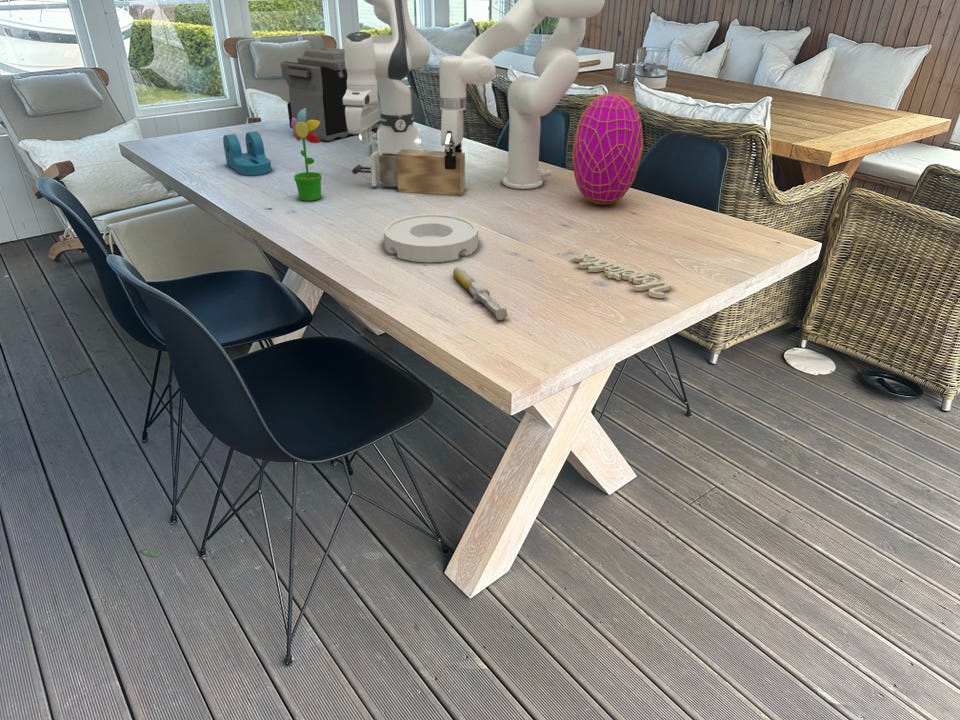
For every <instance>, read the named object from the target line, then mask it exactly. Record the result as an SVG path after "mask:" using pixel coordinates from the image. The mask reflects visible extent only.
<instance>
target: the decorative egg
mask: <svg viewBox="0 0 960 720" xmlns="http://www.w3.org/2000/svg"><path fill="white" fill-rule="evenodd" d="M643 146H644V136H643V124H642V120H641V116H640V113H639V111H638V109H637V107H636V105H635V103H634V102H633V101H632V100H631V99H630V98H629V97H627V96H625V95H622V94H620V93H614V92H613V93H612V92H611V93H610V92H609V93H604V94H601V95H598V96H596V97H594V98H593V99H592V100H590V101H589V103H588V104H587V106H586V107H585V109H584V111H583V112H582V114H581V116H580V118H579V120H578V122H577V127H576V130H575V135H574V140H573V146H572V153H571V158H572V159H571V160H572V169H573V178H574V180H575V182H576V186H577V188H578V190H579V192H580V194H581V195H582V196H583V197H584V198H585V199H586V200H587V201H588V202H590V203H593V204H596V205H612V204H615V203H617V202H618V201H620V200H621V199H623V198H624V196H625V195H626V194H627V193H628V191H629V190H630V189H631V186H632V185H633V183H634V181H635V179H636V176H637V172H638V170H639V166H640V162H641V159H642V155H643V148H644V147H643Z"/></svg>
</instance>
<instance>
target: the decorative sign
mask: <svg viewBox="0 0 960 720" xmlns="http://www.w3.org/2000/svg"><path fill="white" fill-rule="evenodd" d="M574 262H575V263H578V269H588V270H587V272H588V273H598V272H603V273H604V276H606V277H607V278H608V279H614V280H617V281H621V279H622V280H627V281H628V282H630V283H633V284H634V285H633V291H636V292H643V291H647V290H648V293H647V294H648V296H649V297H652V298H656V299H664V298H665V295H666V292H668V291H669V290H670V289H671V283H670V282H668V281H659V279H658V272H657V271H648V272H639V271H637V270H634V269H630V268H628V267H627V266H626V267H625V266H624V265H619V264H618V263H615V262H611V261H610V260H604V258H601V257H598V256H596V255H592V254H590V253H587V252H586V253H582V254H581V255H580V256H578V255H575V256H574Z"/></svg>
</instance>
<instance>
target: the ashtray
mask: <svg viewBox="0 0 960 720" xmlns="http://www.w3.org/2000/svg"><path fill="white" fill-rule="evenodd" d="M383 238H384V239H383V240H384V249H385V251H386V252H387V253H388V254H390V255H396V256H397V258H398V259H401V260H403V261H410V262H415V263H416V262H417V263H443V262H450V261H455V260H459V257H461V256H464V257H468V256H470V255H472V254H473V253H474V252H475V251H477V249H478V246H479V227H478V225H477V224H475V222H473V221H471V220H469V219H468V218H465V217H461V216H459V215H457V216H456V215H451V214H446V213H445V214H443V213H421V214H420V213H419V214H413V215H407V216H403V217H399V218H397V219H394V220H392V221H391V222H388V223H387V224H386V225H385V226H384V228H383Z"/></svg>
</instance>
